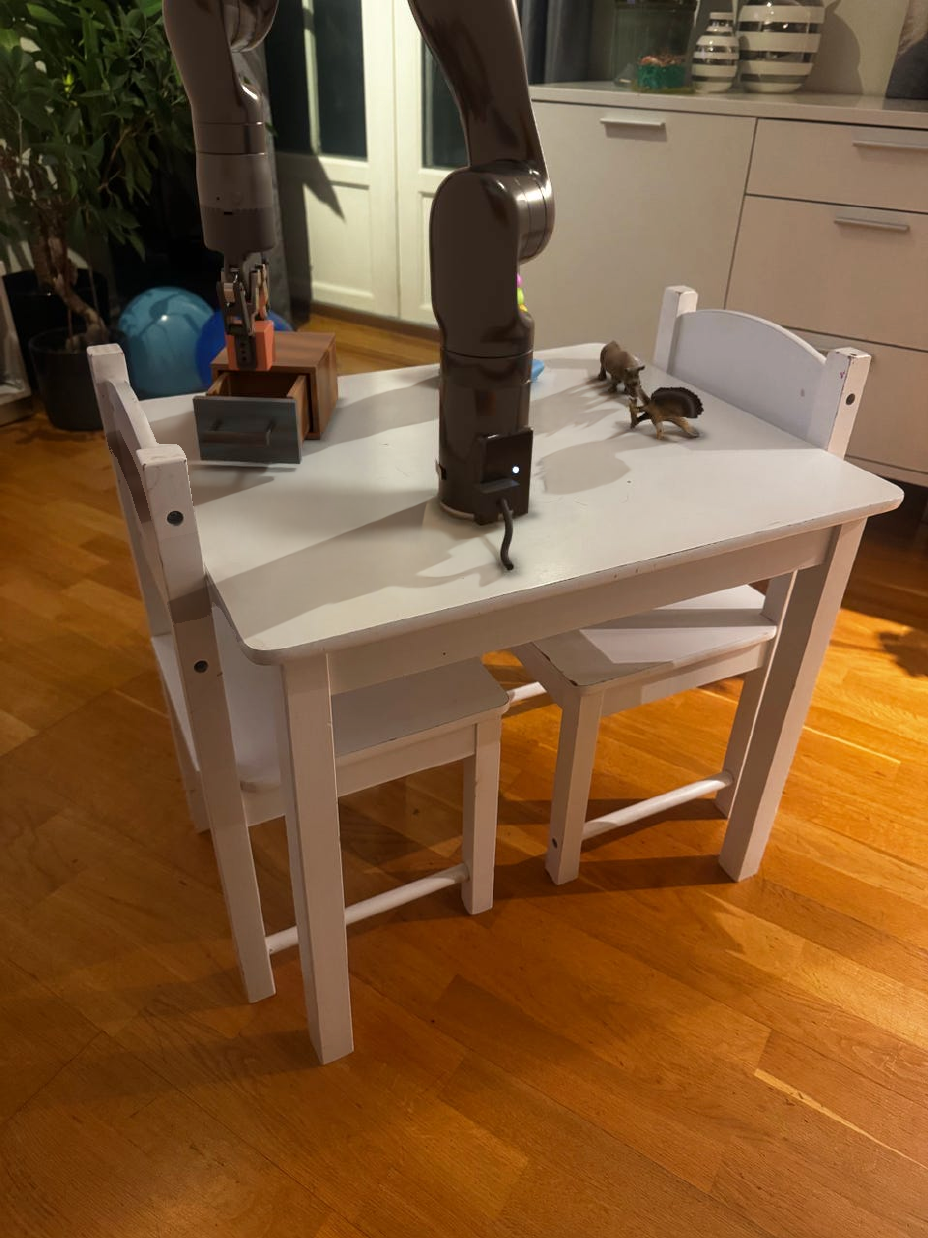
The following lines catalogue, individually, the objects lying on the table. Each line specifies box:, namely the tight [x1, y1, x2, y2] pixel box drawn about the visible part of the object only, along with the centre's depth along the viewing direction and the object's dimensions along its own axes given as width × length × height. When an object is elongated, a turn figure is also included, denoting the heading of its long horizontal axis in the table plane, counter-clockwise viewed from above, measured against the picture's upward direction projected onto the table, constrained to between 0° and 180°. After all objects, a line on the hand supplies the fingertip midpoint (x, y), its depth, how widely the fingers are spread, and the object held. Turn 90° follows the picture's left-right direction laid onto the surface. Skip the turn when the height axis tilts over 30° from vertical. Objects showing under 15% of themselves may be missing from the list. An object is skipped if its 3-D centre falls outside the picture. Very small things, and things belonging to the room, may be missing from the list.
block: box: [224, 319, 276, 371], centre depth 103 cm, size 4×4×4 cm
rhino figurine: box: [597, 340, 646, 399], centre depth 130 cm, size 4×14×6 cm, turn 10°
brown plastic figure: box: [628, 386, 705, 440], centre depth 117 cm, size 8×7×9 cm
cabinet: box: [210, 330, 340, 440], centre depth 117 cm, size 15×13×9 cm
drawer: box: [192, 370, 313, 465], centre depth 106 cm, size 19×11×7 cm, turn 178°
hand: (253, 361), depth 104 cm, fingers closed on block, 4 cm apart
